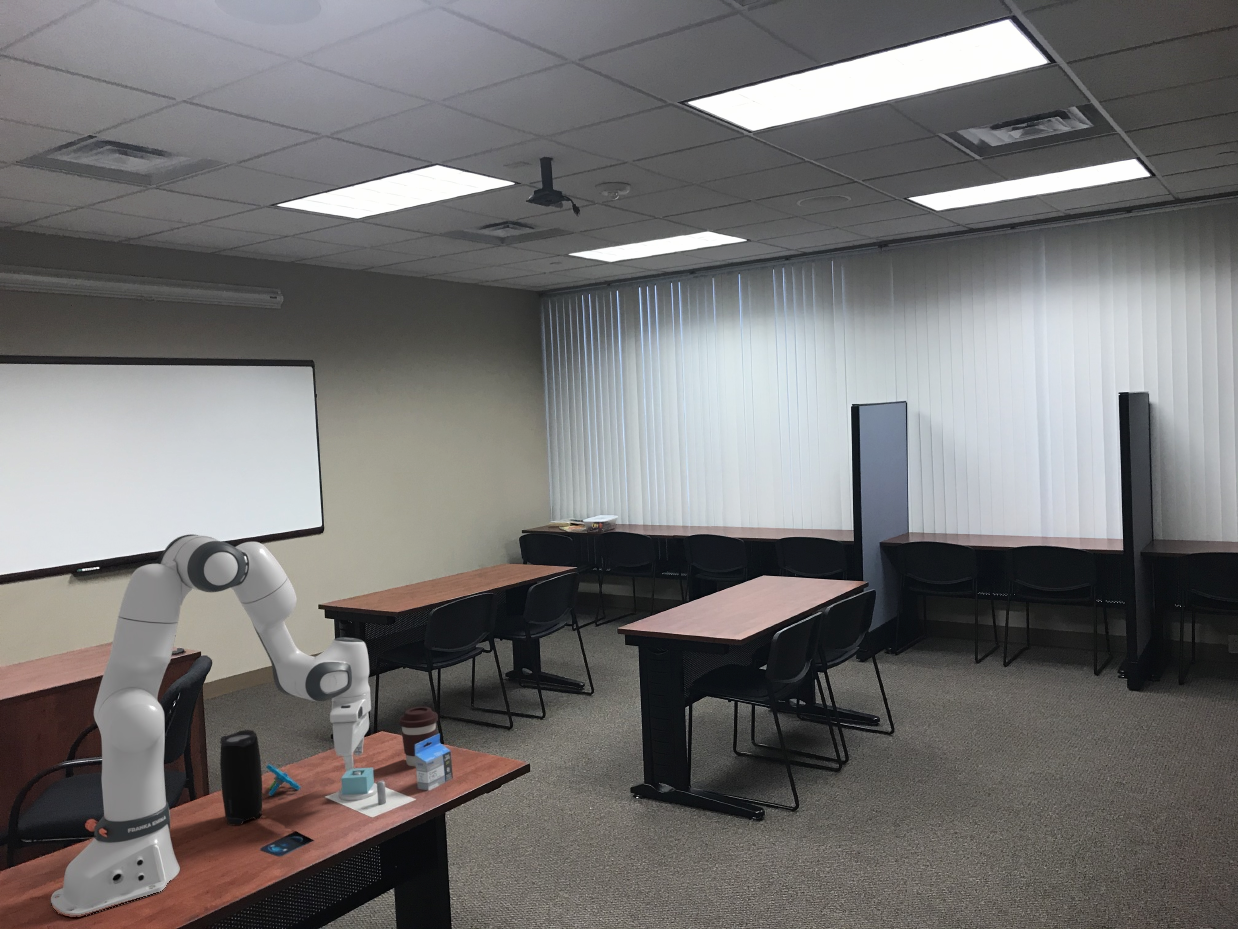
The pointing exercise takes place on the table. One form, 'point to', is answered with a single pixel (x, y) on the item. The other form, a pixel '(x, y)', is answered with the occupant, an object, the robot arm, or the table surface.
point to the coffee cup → (417, 729)
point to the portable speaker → (241, 776)
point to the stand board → (372, 799)
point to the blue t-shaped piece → (280, 780)
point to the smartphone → (286, 844)
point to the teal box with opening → (357, 781)
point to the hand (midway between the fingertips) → (354, 761)
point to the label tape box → (432, 763)
